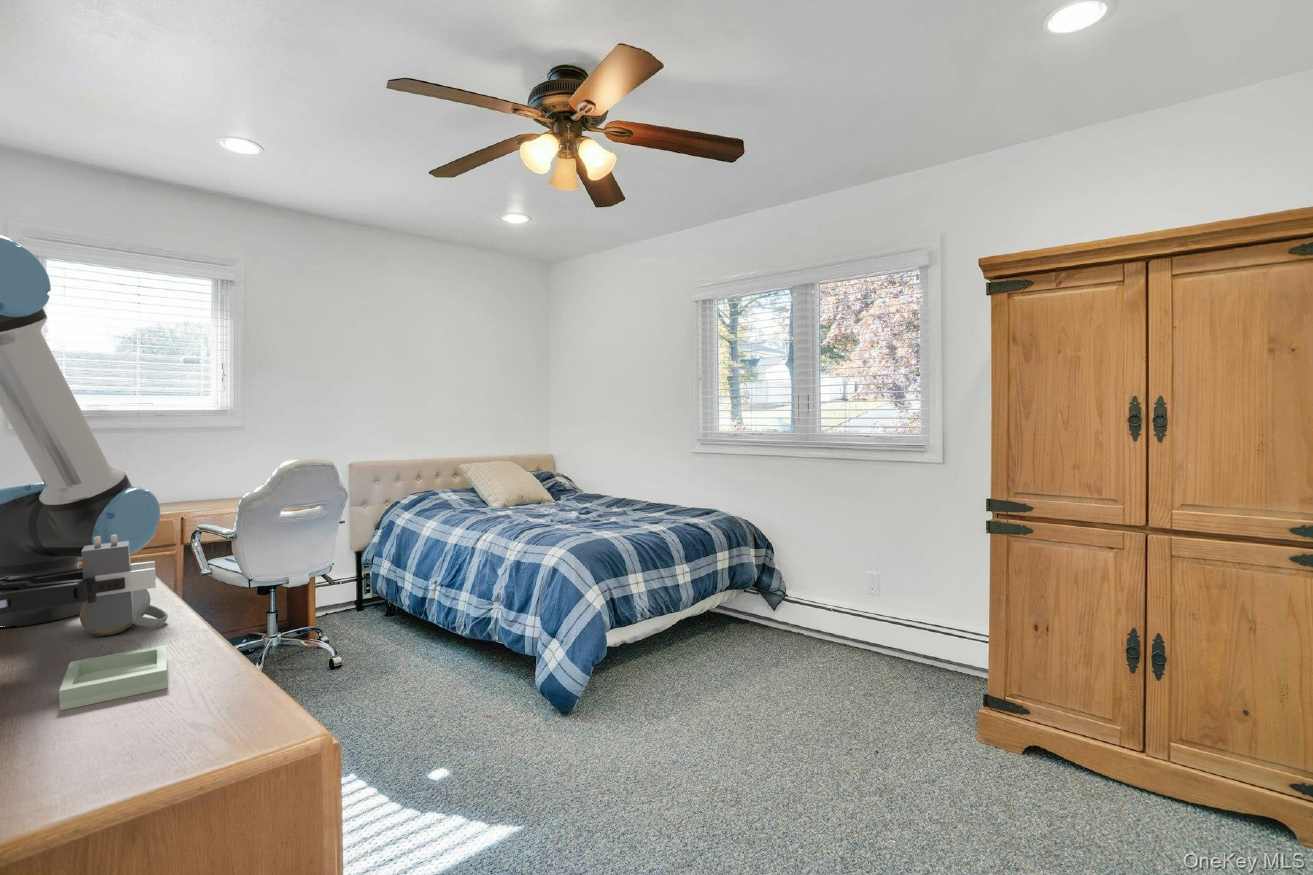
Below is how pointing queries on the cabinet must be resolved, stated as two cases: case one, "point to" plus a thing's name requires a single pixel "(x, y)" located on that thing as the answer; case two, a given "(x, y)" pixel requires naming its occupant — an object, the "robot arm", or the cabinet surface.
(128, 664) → the shallow pale green tray
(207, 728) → the cabinet surface
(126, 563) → the charger brick
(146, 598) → the ceramic mug
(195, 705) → the cabinet surface
